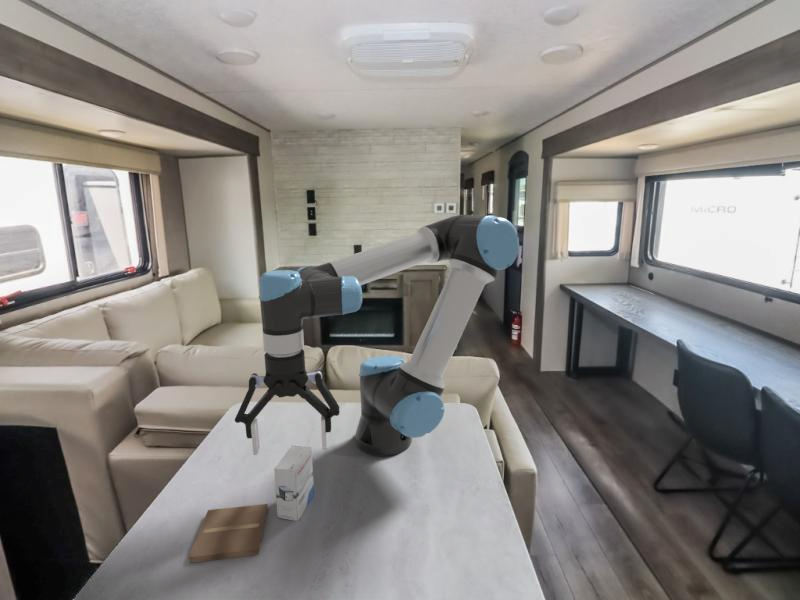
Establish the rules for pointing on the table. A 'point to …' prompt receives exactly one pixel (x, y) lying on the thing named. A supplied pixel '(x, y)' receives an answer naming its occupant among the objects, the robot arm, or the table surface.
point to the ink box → (294, 482)
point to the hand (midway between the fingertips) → (290, 448)
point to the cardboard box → (230, 533)
